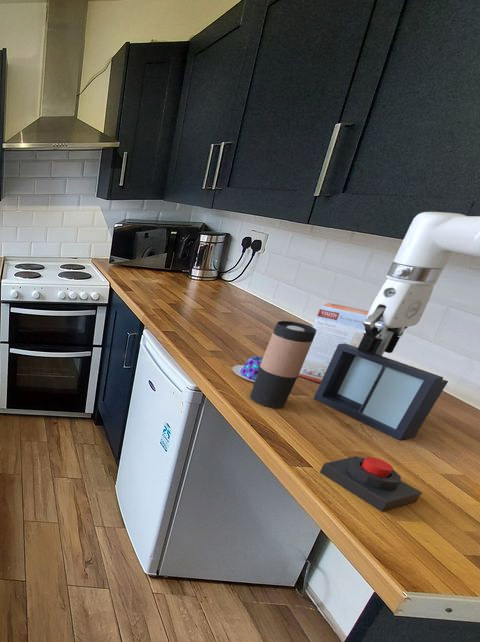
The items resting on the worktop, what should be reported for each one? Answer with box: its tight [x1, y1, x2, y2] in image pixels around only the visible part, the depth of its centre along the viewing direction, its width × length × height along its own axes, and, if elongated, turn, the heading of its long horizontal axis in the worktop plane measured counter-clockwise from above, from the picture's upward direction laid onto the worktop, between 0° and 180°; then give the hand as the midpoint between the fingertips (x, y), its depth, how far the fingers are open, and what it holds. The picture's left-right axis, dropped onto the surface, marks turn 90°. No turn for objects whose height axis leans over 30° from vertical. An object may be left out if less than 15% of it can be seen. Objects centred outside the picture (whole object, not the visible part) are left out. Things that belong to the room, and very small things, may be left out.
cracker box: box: [298, 302, 384, 384], centre depth 107 cm, size 14×6×21 cm, turn 34°
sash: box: [332, 328, 394, 408], centre depth 94 cm, size 7×1×19 cm, turn 17°
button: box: [361, 456, 394, 478], centre depth 71 cm, size 4×4×2 cm
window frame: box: [313, 343, 449, 441], centre depth 92 cm, size 18×5×15 cm, turn 17°
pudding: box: [232, 355, 264, 383], centre depth 111 cm, size 12×12×5 cm
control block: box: [319, 455, 423, 513], centre depth 72 cm, size 10×9×4 cm
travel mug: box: [249, 320, 316, 409], centre depth 96 cm, size 8×8×20 cm
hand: (374, 351), depth 92 cm, fingers open, 5 cm apart
